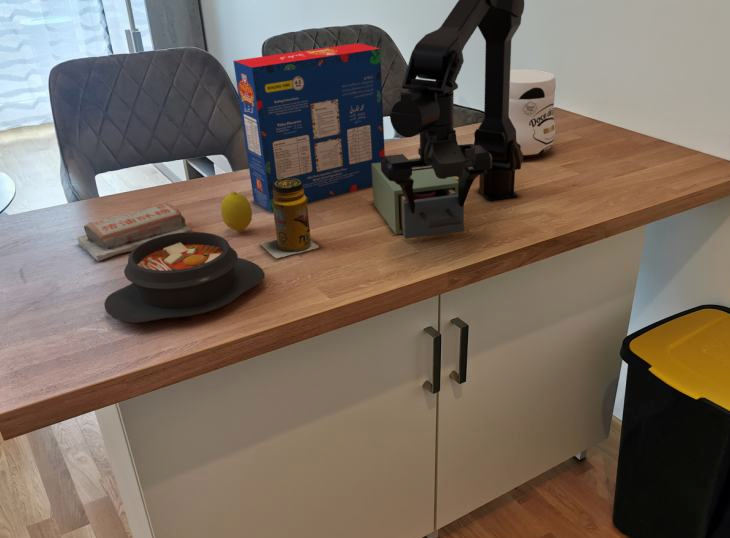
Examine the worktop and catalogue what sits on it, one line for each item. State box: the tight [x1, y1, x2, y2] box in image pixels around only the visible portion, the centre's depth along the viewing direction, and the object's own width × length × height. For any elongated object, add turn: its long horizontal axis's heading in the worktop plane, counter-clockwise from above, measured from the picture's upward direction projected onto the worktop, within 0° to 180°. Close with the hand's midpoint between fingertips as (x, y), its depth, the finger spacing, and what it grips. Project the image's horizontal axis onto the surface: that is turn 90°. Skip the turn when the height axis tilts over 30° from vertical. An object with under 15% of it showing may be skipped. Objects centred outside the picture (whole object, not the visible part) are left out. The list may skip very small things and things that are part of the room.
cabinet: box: [371, 157, 458, 235], centre depth 142 cm, size 17×13×9 cm
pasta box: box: [233, 42, 386, 214], centre depth 149 cm, size 28×8×28 cm, turn 127°
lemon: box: [220, 191, 253, 233], centre depth 136 cm, size 6×6×8 cm
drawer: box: [398, 188, 465, 240], centre depth 136 cm, size 21×11×7 cm, turn 18°
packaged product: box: [76, 202, 193, 262], centre depth 134 cm, size 18×5×10 cm
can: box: [413, 190, 436, 200], centre depth 138 cm, size 5×5×5 cm
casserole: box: [103, 231, 265, 324], centre depth 114 cm, size 25×19×8 cm
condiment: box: [260, 178, 320, 259], centre depth 129 cm, size 7×8×12 cm
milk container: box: [509, 68, 556, 159], centre depth 173 cm, size 17×17×18 cm
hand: (437, 209), depth 130 cm, fingers open, 9 cm apart
